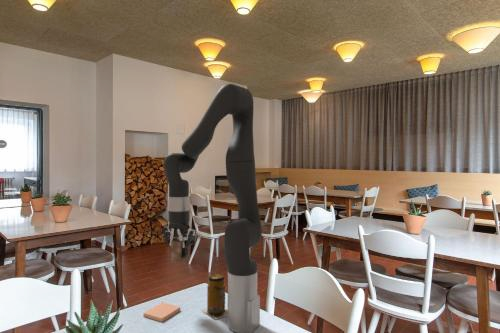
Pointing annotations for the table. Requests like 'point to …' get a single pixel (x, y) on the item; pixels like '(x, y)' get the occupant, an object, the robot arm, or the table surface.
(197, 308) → the table surface
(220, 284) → the condiment
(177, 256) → the block
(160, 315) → the tile
